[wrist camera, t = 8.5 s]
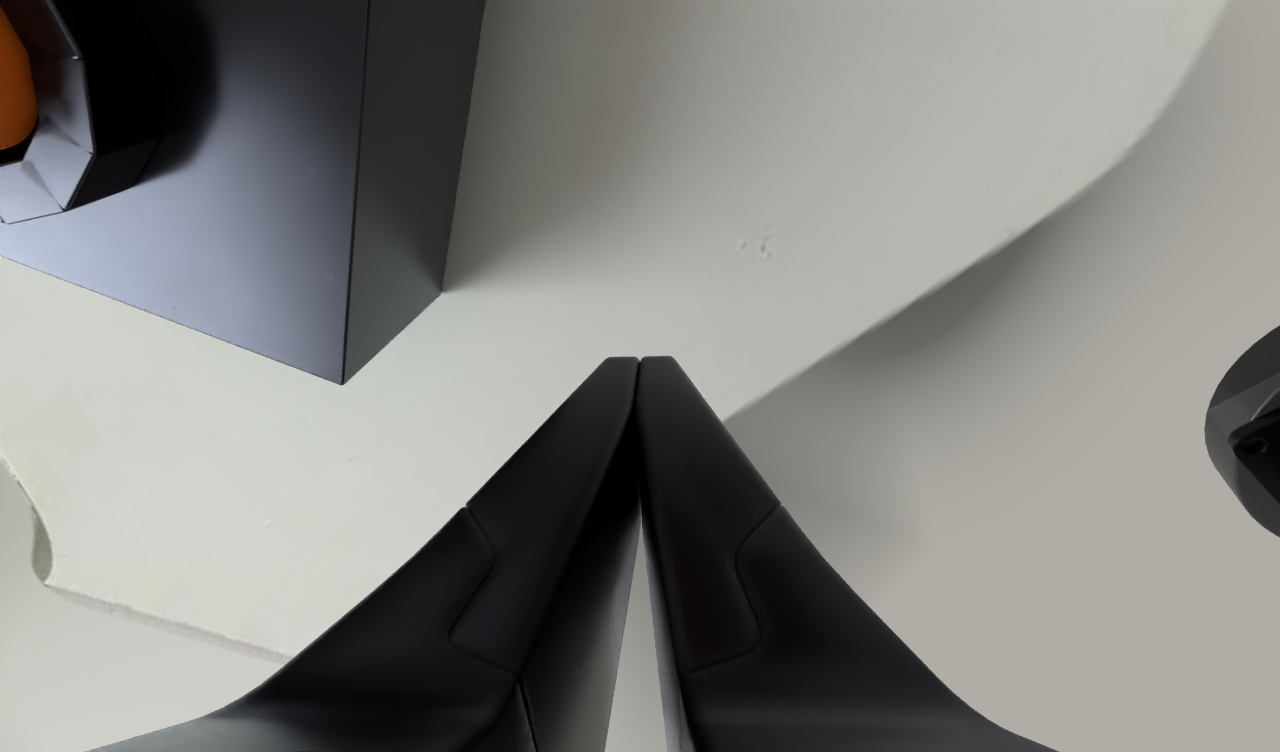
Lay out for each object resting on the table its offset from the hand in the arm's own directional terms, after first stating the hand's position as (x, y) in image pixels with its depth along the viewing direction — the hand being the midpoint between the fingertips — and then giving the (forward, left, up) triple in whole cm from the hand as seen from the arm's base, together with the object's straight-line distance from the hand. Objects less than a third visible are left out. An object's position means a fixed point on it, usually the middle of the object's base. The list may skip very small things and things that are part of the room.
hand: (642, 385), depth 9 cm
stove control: (+11, +6, -12) cm, 17 cm away
